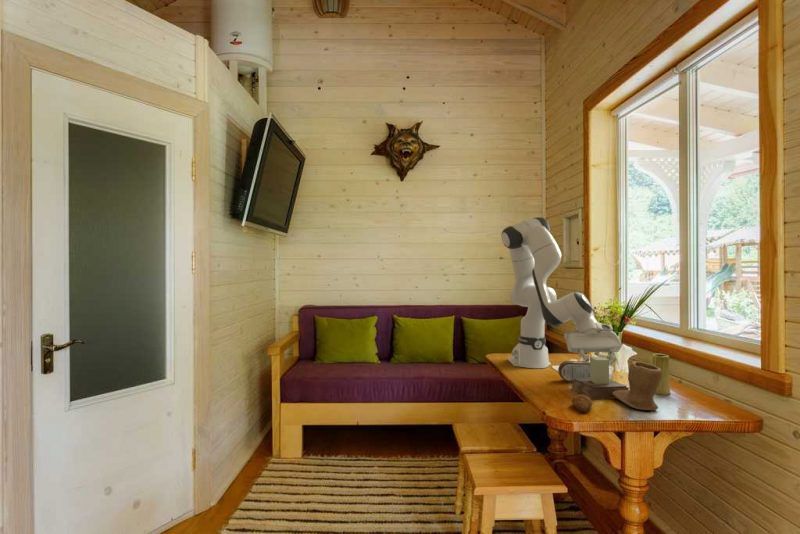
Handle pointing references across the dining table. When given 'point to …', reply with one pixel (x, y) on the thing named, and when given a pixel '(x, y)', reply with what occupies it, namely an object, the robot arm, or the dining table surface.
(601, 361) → the block
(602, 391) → the plinth
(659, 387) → the vase
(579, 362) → the tin
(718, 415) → the dining table surface
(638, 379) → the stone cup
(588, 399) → the brown rounded lump
